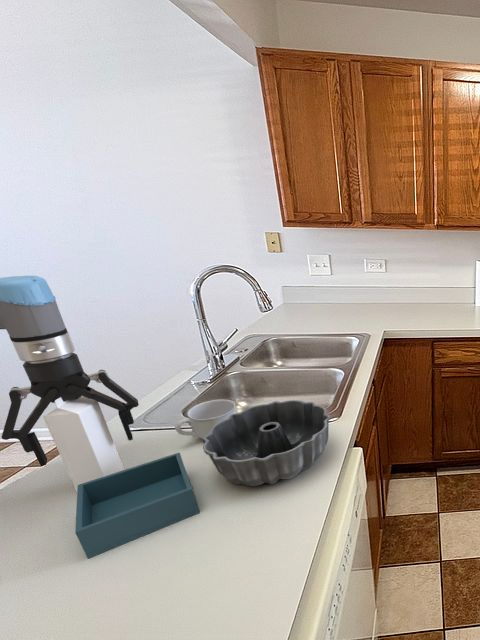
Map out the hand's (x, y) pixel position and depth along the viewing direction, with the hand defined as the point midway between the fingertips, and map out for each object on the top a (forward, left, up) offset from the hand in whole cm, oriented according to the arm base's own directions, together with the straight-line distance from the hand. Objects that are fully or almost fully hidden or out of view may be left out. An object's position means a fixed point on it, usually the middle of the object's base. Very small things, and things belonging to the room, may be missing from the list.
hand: (89, 449), depth 85 cm
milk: (0, 0, -9) cm, 9 cm away
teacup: (-6, +22, -9) cm, 24 cm away
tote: (+17, +6, -9) cm, 20 cm away
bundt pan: (+18, +31, -9) cm, 37 cm away
